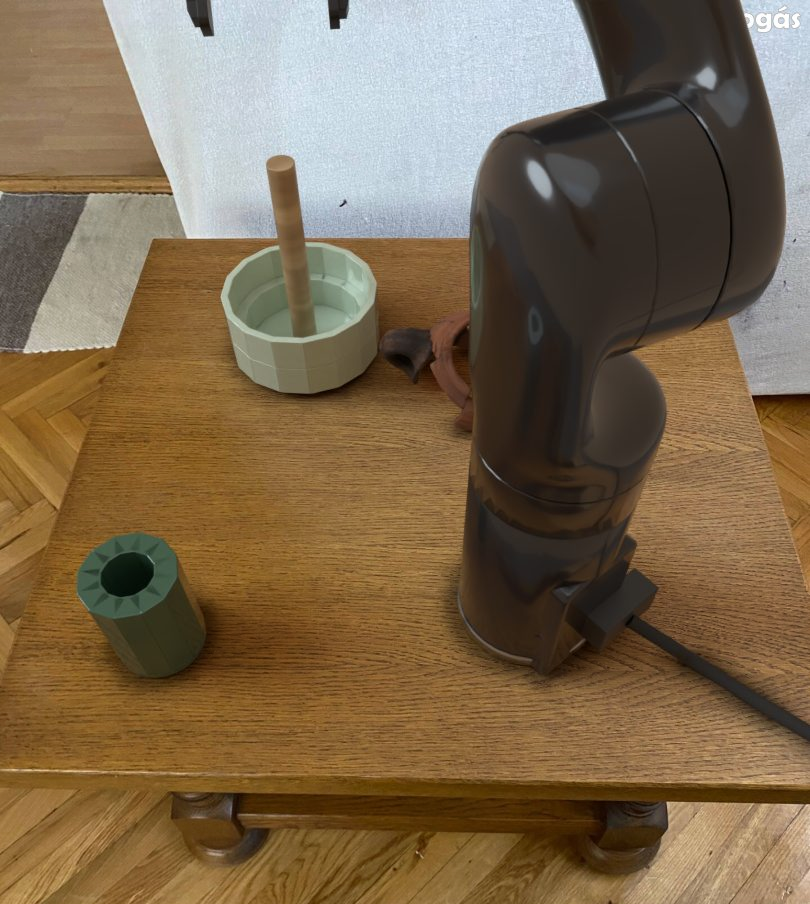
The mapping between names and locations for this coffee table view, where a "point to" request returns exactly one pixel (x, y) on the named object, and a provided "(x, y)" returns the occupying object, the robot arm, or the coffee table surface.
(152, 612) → the utensil pot
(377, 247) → the coffee table surface
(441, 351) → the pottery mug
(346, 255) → the bowl
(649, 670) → the coffee table surface
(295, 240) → the stick
